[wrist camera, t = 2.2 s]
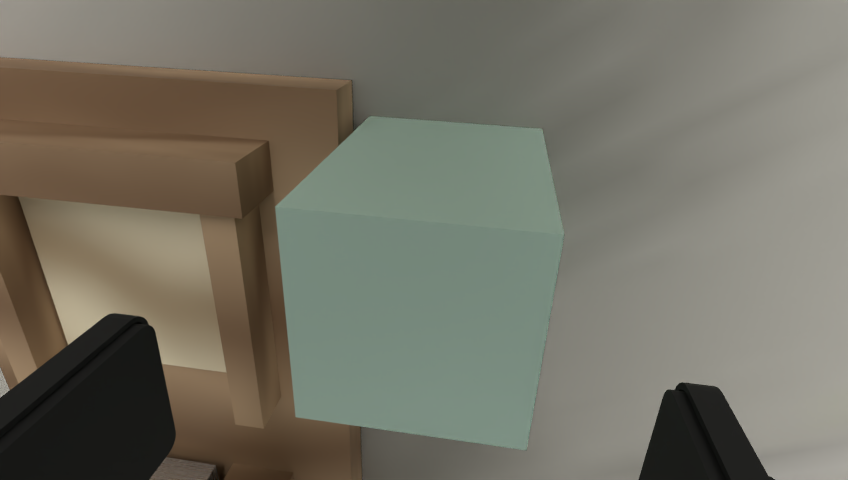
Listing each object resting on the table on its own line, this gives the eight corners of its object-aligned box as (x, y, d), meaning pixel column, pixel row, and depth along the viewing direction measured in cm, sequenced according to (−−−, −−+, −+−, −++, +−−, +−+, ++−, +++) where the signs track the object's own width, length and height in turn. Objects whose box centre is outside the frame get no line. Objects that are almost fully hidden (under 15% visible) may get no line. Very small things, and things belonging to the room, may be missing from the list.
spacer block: (370, 115, 15) (274, 206, 9) (542, 128, 15) (564, 234, 9) (371, 263, 18) (295, 417, 11) (521, 279, 17) (526, 450, 11)
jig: (-78, 52, 17) (-463, 99, 10) (351, 80, 15) (227, 159, 8) (112, 559, 28) (-8, 733, 22) (365, 605, 27) (317, 809, 20)
